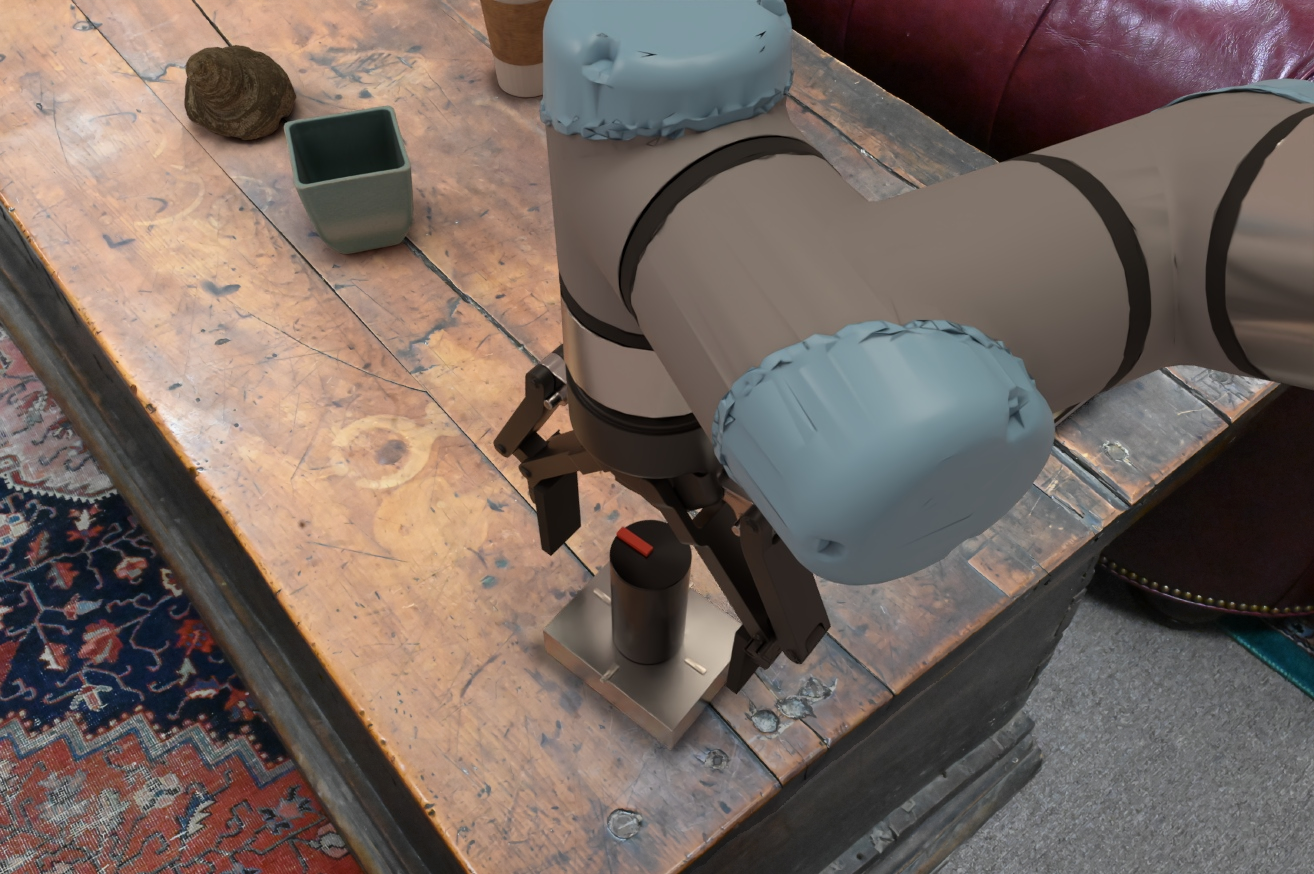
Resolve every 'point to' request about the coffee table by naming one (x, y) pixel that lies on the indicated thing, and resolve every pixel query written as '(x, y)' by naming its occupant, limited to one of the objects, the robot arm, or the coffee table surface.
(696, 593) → the dimmer panel
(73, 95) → the coffee table surface
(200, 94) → the seashell
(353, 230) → the flower pot
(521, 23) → the coffee cup
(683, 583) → the dimmer
